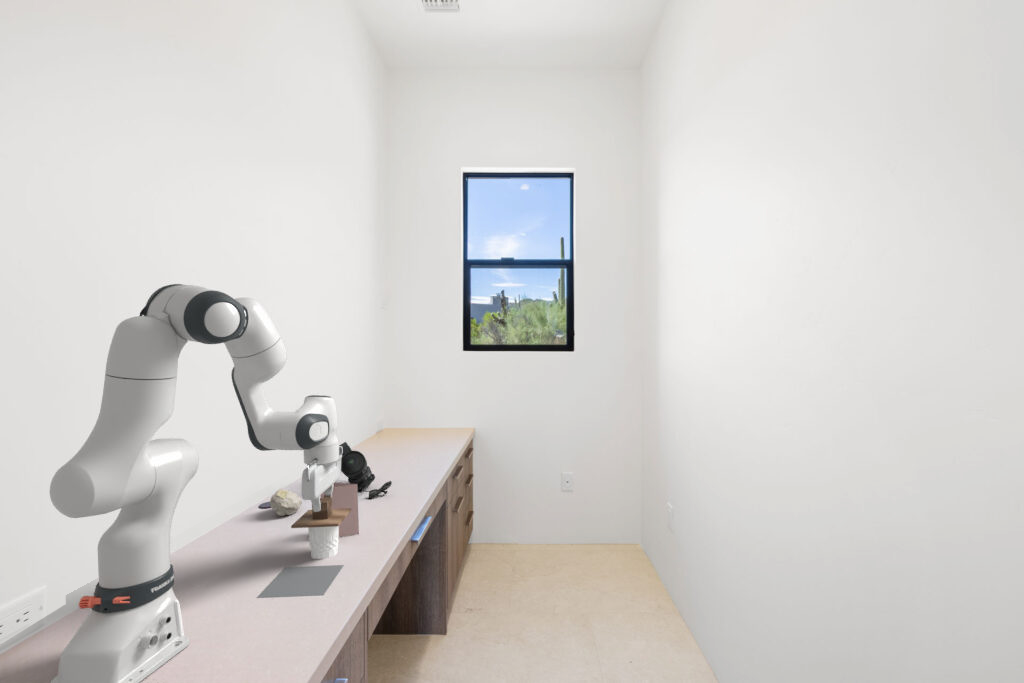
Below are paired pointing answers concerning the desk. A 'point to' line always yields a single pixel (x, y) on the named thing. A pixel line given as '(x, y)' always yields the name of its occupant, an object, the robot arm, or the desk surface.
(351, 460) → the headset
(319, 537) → the white cup
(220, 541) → the desk surface
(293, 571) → the rubber mat
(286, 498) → the fossil replica
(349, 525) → the greeting card
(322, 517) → the walnut lid
